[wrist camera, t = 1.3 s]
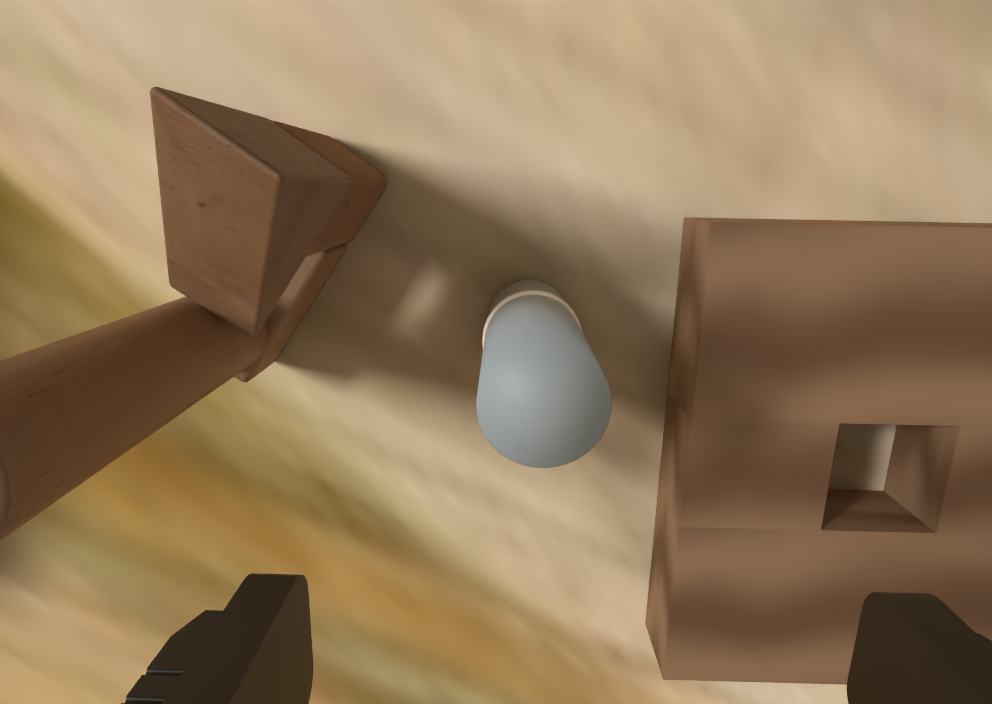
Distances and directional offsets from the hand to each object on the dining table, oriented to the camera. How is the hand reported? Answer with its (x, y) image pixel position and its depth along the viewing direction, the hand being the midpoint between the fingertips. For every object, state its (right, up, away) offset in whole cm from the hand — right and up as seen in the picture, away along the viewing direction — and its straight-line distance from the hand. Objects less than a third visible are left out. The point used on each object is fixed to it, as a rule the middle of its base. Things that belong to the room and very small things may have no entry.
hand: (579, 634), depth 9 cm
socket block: (+16, 0, +22) cm, 28 cm away
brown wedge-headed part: (-11, +9, +20) cm, 25 cm away
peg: (0, +6, +21) cm, 22 cm away
